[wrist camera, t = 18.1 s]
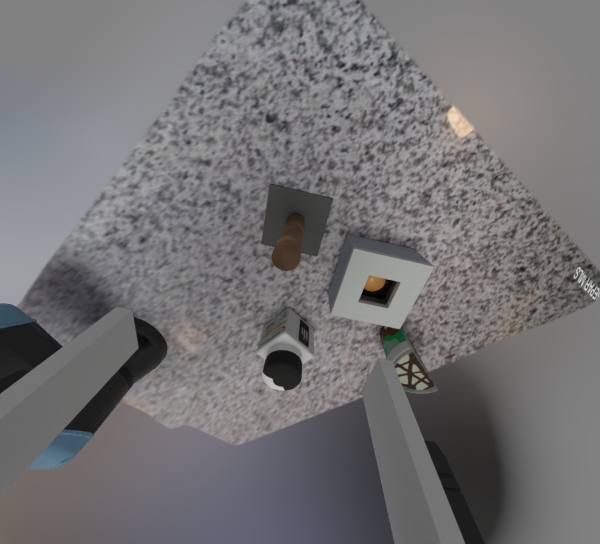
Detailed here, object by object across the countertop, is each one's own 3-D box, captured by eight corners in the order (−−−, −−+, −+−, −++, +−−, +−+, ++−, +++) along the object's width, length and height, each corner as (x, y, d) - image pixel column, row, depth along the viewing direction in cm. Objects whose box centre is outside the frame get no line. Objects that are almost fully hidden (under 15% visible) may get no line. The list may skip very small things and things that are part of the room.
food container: (363, 324, 46) (375, 363, 37) (391, 311, 44) (411, 349, 35) (389, 360, 50) (406, 403, 41) (415, 349, 48) (439, 392, 39)
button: (355, 280, 41) (358, 288, 38) (362, 260, 39) (366, 268, 36) (375, 284, 41) (380, 293, 38) (384, 265, 39) (389, 273, 37)
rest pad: (262, 243, 39) (261, 243, 39) (270, 183, 34) (270, 184, 34) (317, 255, 40) (317, 256, 39) (332, 198, 35) (332, 198, 35)
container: (289, 306, 45) (280, 357, 33) (314, 328, 47) (314, 383, 36) (263, 325, 48) (247, 378, 36) (288, 346, 50) (281, 402, 38)
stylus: (285, 228, 37) (269, 267, 24) (288, 211, 36) (274, 241, 22) (302, 232, 37) (296, 273, 24) (306, 215, 36) (302, 248, 23)
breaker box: (328, 292, 43) (330, 314, 37) (347, 233, 37) (354, 248, 31) (387, 304, 44) (399, 329, 37) (414, 249, 38) (434, 266, 32)
